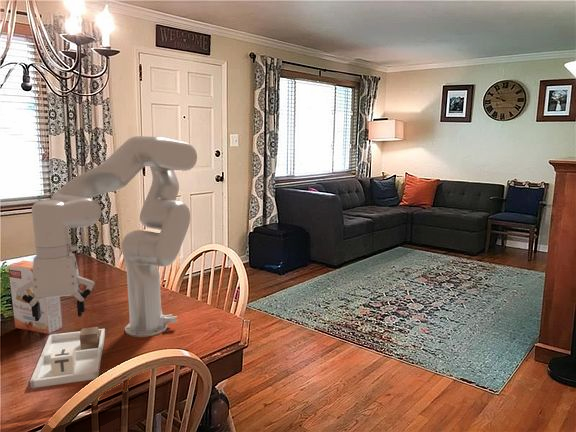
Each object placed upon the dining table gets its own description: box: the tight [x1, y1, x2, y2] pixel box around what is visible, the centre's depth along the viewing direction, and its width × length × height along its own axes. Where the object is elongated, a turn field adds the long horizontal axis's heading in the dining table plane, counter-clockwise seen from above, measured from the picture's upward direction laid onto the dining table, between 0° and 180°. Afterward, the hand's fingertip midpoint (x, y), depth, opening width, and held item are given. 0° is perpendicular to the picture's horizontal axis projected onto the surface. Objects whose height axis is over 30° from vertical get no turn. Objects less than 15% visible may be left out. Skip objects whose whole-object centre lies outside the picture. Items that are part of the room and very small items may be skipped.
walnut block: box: [80, 326, 100, 350], centre depth 132 cm, size 4×4×4 cm
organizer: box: [29, 328, 106, 389], centre depth 125 cm, size 15×26×2 cm, turn 18°
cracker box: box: [7, 260, 64, 335], centre depth 142 cm, size 14×6×21 cm, turn 69°
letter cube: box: [50, 347, 76, 377], centre depth 118 cm, size 5×5×5 cm
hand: (59, 316), depth 116 cm, fingers open, 9 cm apart
